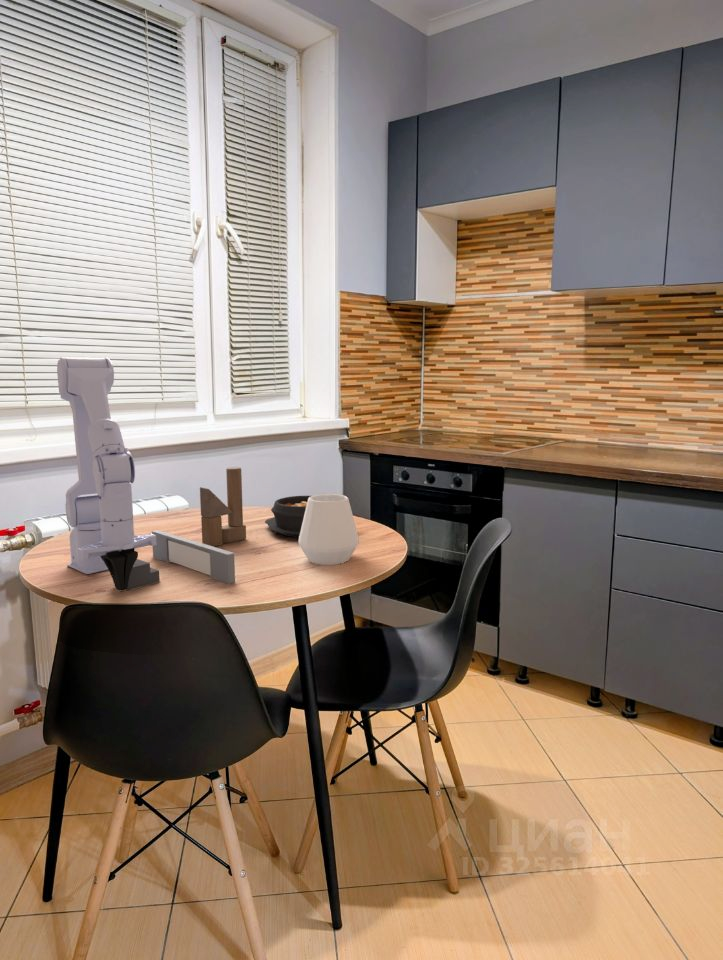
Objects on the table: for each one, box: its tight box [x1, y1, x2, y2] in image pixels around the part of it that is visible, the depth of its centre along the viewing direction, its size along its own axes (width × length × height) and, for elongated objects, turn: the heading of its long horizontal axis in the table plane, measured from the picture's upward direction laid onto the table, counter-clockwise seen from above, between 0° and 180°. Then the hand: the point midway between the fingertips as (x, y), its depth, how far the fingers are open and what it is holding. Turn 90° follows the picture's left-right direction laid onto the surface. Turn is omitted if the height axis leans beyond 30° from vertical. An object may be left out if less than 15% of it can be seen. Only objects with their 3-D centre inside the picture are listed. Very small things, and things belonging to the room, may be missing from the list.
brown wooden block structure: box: [199, 466, 247, 547], centre depth 162 cm, size 4×11×18 cm, turn 138°
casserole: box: [264, 495, 312, 538], centre depth 173 cm, size 25×19×8 cm
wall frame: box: [151, 529, 236, 585], centre depth 142 cm, size 28×2×6 cm, turn 48°
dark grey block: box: [126, 558, 161, 591], centre depth 132 cm, size 4×7×4 cm, turn 141°
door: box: [168, 540, 211, 576], centre depth 142 cm, size 15×1×5 cm, turn 48°
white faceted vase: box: [297, 493, 360, 566], centre depth 148 cm, size 13×13×14 cm
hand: (121, 589), depth 126 cm, fingers closed
